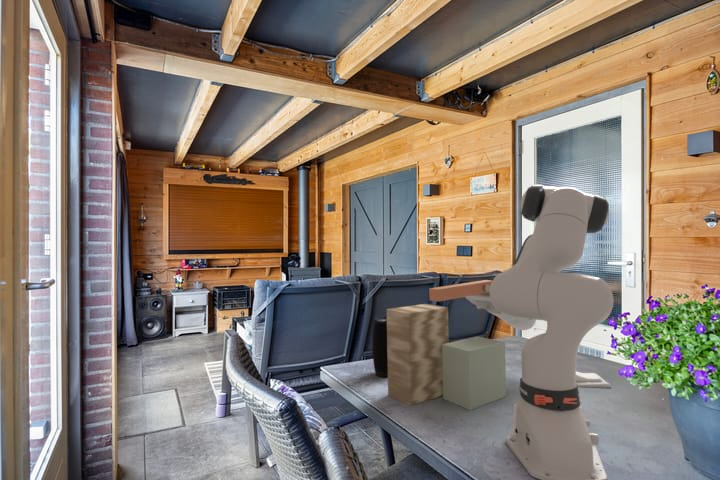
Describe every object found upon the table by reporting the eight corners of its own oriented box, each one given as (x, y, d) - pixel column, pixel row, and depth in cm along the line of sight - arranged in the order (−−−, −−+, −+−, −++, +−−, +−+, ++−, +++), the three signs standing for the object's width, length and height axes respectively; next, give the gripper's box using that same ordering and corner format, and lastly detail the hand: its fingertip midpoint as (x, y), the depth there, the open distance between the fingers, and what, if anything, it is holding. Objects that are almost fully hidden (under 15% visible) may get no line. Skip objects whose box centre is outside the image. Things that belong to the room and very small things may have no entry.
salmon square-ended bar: (485, 290, 135) (485, 280, 135) (494, 291, 132) (493, 280, 132) (429, 300, 120) (429, 288, 120) (438, 301, 117) (437, 289, 117)
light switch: (555, 366, 138) (596, 365, 135) (556, 378, 138) (597, 378, 135) (566, 377, 127) (610, 376, 125) (567, 390, 127) (611, 389, 125)
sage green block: (478, 386, 128) (477, 336, 128) (506, 396, 119) (505, 342, 119) (443, 398, 118) (442, 344, 119) (470, 409, 110) (468, 351, 110)
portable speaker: (400, 378, 137) (399, 320, 137) (373, 378, 137) (371, 321, 137) (398, 369, 146) (397, 315, 146) (372, 370, 146) (371, 316, 146)
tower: (426, 383, 131) (425, 303, 131) (449, 392, 123) (448, 307, 123) (388, 394, 122) (386, 309, 122) (410, 405, 114) (408, 313, 114)
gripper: (527, 316, 127) (503, 298, 121) (474, 308, 144) (451, 292, 137) (532, 298, 129) (509, 279, 122) (480, 292, 146) (457, 275, 139)
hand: (478, 286), depth 130 cm, fingers closed on salmon square-ended bar, 3 cm apart
